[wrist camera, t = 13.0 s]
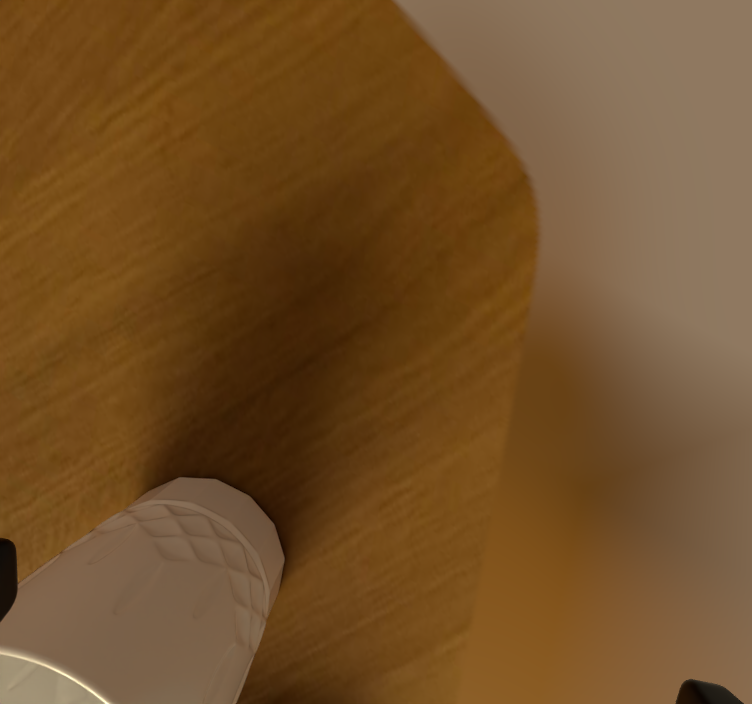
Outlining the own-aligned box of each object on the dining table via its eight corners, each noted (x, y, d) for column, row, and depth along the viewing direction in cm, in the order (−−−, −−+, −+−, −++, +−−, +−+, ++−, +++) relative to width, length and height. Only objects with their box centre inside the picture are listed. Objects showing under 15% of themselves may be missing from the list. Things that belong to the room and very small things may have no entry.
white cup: (240, 431, 21) (58, 600, 12) (333, 600, 22) (238, 885, 13) (83, 502, 23) (-188, 701, 13) (176, 656, 24) (-13, 944, 14)
